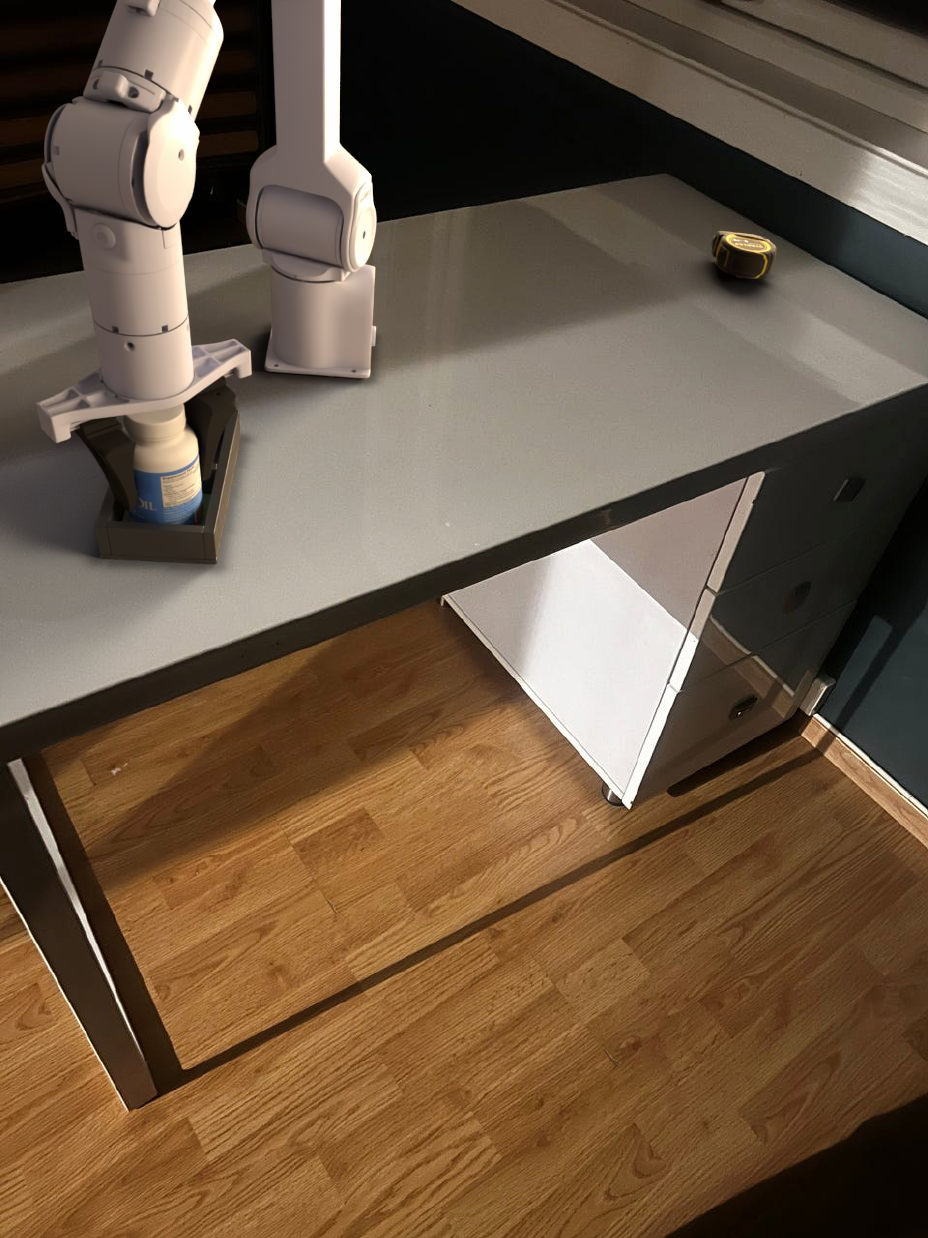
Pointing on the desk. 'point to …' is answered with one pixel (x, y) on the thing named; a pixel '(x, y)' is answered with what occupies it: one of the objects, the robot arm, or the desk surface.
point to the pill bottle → (165, 468)
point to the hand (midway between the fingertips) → (163, 487)
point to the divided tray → (173, 539)
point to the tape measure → (743, 254)
